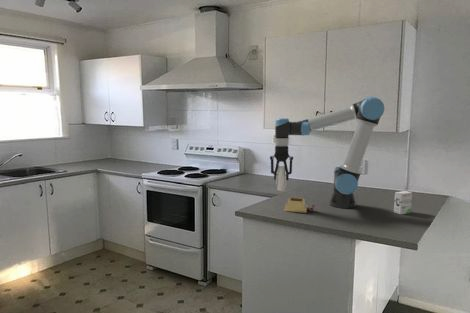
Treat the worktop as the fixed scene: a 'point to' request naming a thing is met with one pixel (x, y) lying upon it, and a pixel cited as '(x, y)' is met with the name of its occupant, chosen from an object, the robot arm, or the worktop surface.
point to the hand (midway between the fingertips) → (281, 185)
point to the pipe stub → (281, 178)
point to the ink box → (402, 202)
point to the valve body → (297, 205)
